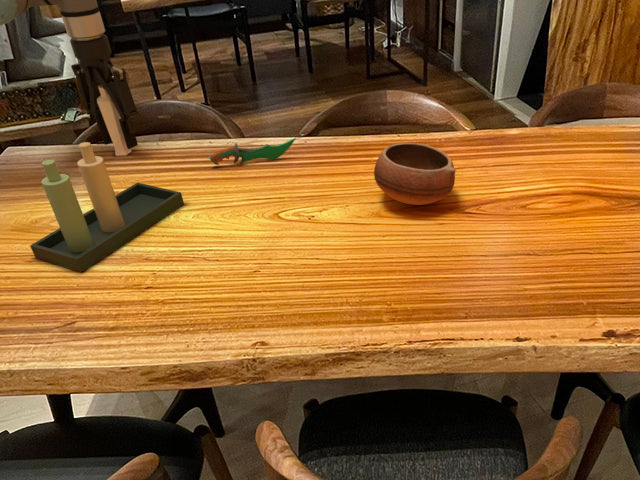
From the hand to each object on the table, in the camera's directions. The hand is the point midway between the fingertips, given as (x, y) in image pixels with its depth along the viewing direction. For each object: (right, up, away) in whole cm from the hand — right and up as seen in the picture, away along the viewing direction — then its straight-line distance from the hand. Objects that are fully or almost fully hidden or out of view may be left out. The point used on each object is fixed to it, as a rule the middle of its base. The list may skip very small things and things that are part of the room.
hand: (121, 144), depth 146 cm
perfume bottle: (0, -2, +1) cm, 2 cm away
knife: (+33, -6, -5) cm, 34 cm away
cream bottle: (+9, -26, -27) cm, 38 cm away
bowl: (+68, -19, -21) cm, 73 cm away
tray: (+9, -26, -26) cm, 38 cm away
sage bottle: (+6, -31, -32) cm, 45 cm away
